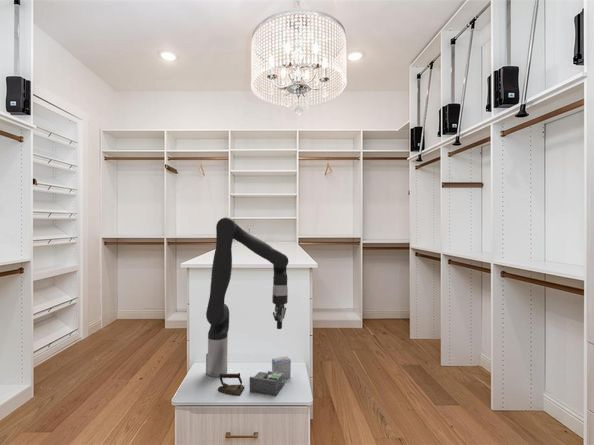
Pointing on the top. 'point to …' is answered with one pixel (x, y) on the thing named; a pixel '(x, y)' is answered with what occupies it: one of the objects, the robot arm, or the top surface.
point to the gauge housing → (266, 384)
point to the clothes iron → (231, 389)
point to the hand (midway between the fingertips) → (279, 328)
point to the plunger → (270, 375)
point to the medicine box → (282, 366)
